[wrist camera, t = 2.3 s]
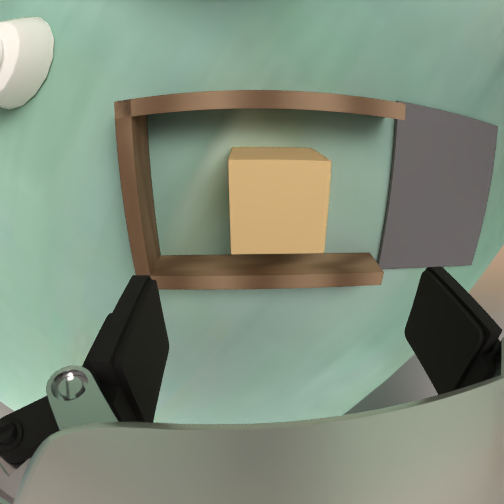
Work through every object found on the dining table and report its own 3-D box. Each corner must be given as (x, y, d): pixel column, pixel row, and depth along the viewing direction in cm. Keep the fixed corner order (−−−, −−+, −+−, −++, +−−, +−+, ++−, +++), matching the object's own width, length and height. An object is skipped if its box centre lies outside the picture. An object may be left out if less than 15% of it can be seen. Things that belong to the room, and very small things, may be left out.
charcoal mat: (495, 125, 21) (497, 126, 21) (469, 263, 28) (471, 265, 27) (396, 101, 21) (398, 101, 20) (376, 266, 27) (378, 269, 27)
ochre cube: (311, 147, 23) (331, 161, 17) (307, 220, 25) (323, 253, 20) (232, 147, 23) (228, 160, 17) (234, 220, 25) (231, 254, 20)
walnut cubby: (385, 102, 21) (405, 104, 18) (367, 264, 27) (381, 284, 24) (131, 101, 21) (114, 101, 17) (149, 267, 27) (138, 288, 24)
